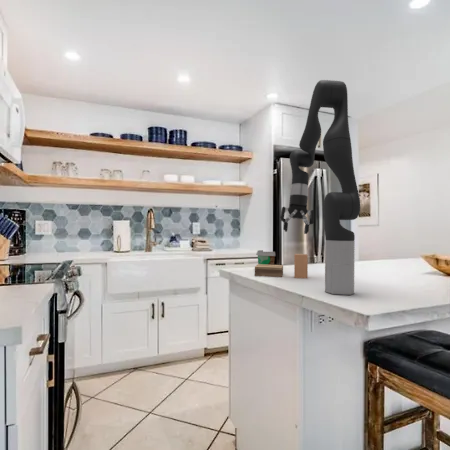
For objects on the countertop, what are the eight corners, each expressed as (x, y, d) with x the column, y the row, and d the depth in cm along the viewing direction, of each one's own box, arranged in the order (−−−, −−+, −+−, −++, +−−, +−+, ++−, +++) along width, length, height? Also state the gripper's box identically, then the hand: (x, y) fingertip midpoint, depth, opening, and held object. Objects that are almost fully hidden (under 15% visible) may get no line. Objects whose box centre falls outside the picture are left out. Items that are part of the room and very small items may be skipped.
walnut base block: (282, 277, 145) (282, 267, 145) (254, 276, 147) (254, 267, 147) (283, 273, 156) (283, 265, 156) (257, 272, 159) (257, 264, 159)
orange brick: (307, 278, 142) (307, 255, 142) (294, 277, 143) (294, 254, 143) (307, 276, 147) (307, 254, 147) (294, 276, 148) (294, 253, 148)
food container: (251, 269, 170) (251, 250, 170) (262, 269, 172) (262, 250, 172) (264, 272, 158) (264, 252, 159) (275, 272, 161) (275, 251, 161)
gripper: (284, 192, 140) (281, 230, 138) (317, 195, 140) (314, 233, 138) (280, 195, 147) (277, 231, 145) (312, 198, 148) (309, 235, 146)
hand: (295, 232), depth 142 cm, fingers open, 8 cm apart
